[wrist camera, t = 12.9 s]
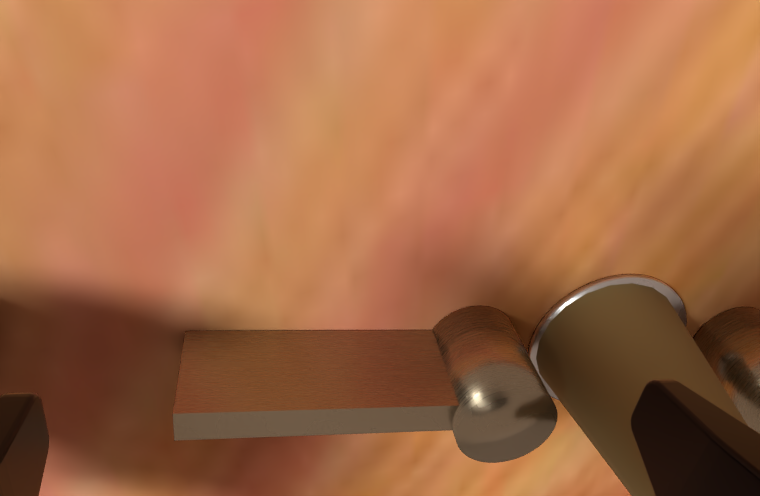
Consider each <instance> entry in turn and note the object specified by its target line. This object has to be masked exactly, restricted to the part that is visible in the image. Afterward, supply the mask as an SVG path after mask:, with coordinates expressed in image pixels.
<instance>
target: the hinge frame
mask: <svg viewBox="0 0 760 496" xmlns="http://www.w3.org/2000/svg"><path fill="white" fill-rule="evenodd" d="M629 283H634V284H639V285H644V286H648V287H652V288H654V289H655V290H657V291H658V292H660V293H661V294H663V295H664V296H666V297H667V298H668V300H669V302H670V303H671V305H672V306H673V308H674V310H675V311H676V313H677V314H678V316H679V317H680V319H681V321H682V322H683V324H684V325H685V327H686V322H687V319H686V311H685V307H684V304H683V302H682V300H681V299H680V297H679V296H678V295H677V294H676V292H675V291H674V290H673V289H672V288H671V287H669V286H668V285H667V284H666V283H664V282H662V281H661V280H659V279H656V278H653V277H650V276H646V275H639V274H621V275H615V276H610V277H606V278H602V279H599V280H596V281H593V282H591V283H588V284H586V285H584V286H582V287H580V288H578V289H577V290H575V291H573V292H572V293H570V294H568V295H567V296H566V297H564V298H563V299H562V300H560V301H559V302H558V303H557V304H556V305H555V306H554V307H552V308H551V309H550V311H549V312H548V313H547V314H546V315H545V316H544V317H543V319H542V320H541V322H540V323H539V324H538V326H537V328H536V330H535V332H534V334H533V336H532V338H531V341H530V345H529V349H528V353H527V351H526V349H525V348H524V346H523V344H522V342H521V340H520V338H519V336H518V334H517V332H516V331H515V329H514V327H513V325H512V323H511V321H510V320H509V318H508V317H507V316H506V315H505V314H504V313H503V312H501V311H499V310H497V309H495V308H492V307H487V306H471V307H466V308H462V309H460V310H457V311H455V312H453V313H451V314H449V315H447V316H446V317H445V318H443V319H442V320H441V321H440V322H439V323H438V324H437V325H436V326H435V327H434V328H433V330H322V331H185V336H184V343H183V349H182V356H181V363H180V369H179V376H178V382H177V389H176V396H175V402H174V409H173V427H174V441H175V440H202V439H229V438H255V437H282V436H309V435H335V434H362V433H389V432H415V431H442V430H453V433H454V436H455V439H456V442H457V444H458V447H459V448H460V450H461V451H462V452H463V453H464V454H465V455H466V456H468V457H470V458H472V459H474V460H477V461H481V462H488V463H496V462H504V461H509V460H513V459H516V458H519V457H521V456H524V455H526V454H528V453H530V452H531V451H533V450H534V449H536V448H537V447H539V446H540V445H541V444H542V443H543V442H544V441H545V440H546V439H547V438H548V437H549V436H550V434H551V433H552V431H553V430H554V427H555V425H556V422H557V409H556V406H555V404H554V402H553V400H552V399H551V397H553V398H555V399H558V397H557V396H556V395H555V393H554V392H553V391H552V389H551V388H550V387H549V386H548V384H547V383H546V382H545V380H544V379H543V378H542V376H541V375H540V374H539V369H538V365H537V361H536V355H537V350H538V345H539V340H540V339H541V337H542V335H543V333H544V332H545V330H546V328H547V326H548V325H549V323H550V322H551V321H552V320H553V319H554V318H555V317H556V316H557V315H558V314H559V313H560V312H561V311H562V310H563V309H564V308H565V307H566V306H567V305H569V304H570V303H572V302H574V301H575V300H577V299H578V298H580V297H582V296H583V295H585V294H586V293H589V292H592V291H595V290H598V289H601V288H603V287H606V286H609V285H618V284H629ZM693 340H694V341H695V343H696V344H697V346H698V347H699V349H700V351H701V352H702V354H703V355H704V357H705V358H706V360H707V362H708V363H709V365H710V366H711V368H712V370H713V371H714V373H715V374H716V376H717V377H718V379H719V381H720V382H721V384H722V385H723V387H724V389H725V390H726V392H727V393H728V395H729V396H730V398H731V400H732V401H733V403H734V404H735V406H736V407H737V409H738V411H739V412H740V414H741V415H742V417H743V419H744V420H745V422H746V423H747V425H748V426H749V427H750V428H752V429H754V430H755V431H757V432H758V433H760V310H758V309H756V308H752V307H740V308H735V309H731V310H728V311H725V312H723V313H721V314H719V315H717V316H716V317H714V318H713V319H711V320H710V321H708V322H707V323H706V324H705V325H704V326H703V327H702V328H701V329H700V330H699V331H698V333H697V334H696V335H695V337H694V339H693ZM550 396H551V397H550ZM558 400H559V399H558Z"/></svg>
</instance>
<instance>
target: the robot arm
mask: <svg viewBox="0 0 760 496" xmlns="http://www.w3.org/2000/svg"><path fill="white" fill-rule="evenodd" d="M631 429H632V433H633V435H634V438H635V441H636V444H637V447H638V449H639V452H640V455H641V458H642V460H643V463H644V466H645V469H646V471H647V474H648V477H649V480H650V483H651V485H652V488H653V491H654V494H655V496H760V433H758V432H757V431H755V430H754V429H752V428H750V427H749V426H747V425H746V424H744V423H743V422H741V421H739V420H738V419H736V418H735V417H733V416H732V415H730V414H728V413H727V412H725V411H724V410H722V409H721V408H719V407H718V406H716V405H714V404H713V403H711V402H710V401H708V400H707V399H705V398H703V397H702V396H700V395H699V394H697V393H696V392H694V391H693V390H691V389H689V388H688V387H686V386H685V385H683V384H682V383H680V382H678V381H676V380H672V379H660V380H651V381H649V382H648V383H647V384H646V385H645V387H644V389H643V391H642V393H641V396H640V398H639V400H638V402H637V404H636V406H635V408H634V410H633V413H632V415H631ZM48 448H49V435H48V430H47V425H46V420H45V415H44V410H43V405H42V401H41V398H40V396H39V395H38V394H36V393H33V392H28V393H6V394H3V395H1V396H0V496H39V491H40V486H41V482H42V477H43V473H44V468H45V464H46V459H47V454H48Z"/></svg>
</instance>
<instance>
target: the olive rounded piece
mask: <svg viewBox="0 0 760 496" xmlns="http://www.w3.org/2000/svg"><path fill="white" fill-rule="evenodd" d="M536 361H537V365H538V369H539V374H540V375H541V376H542V378H543V379H544V380H545V382H546V383H547V384H548V386H549V387H550V388H551V389H552V391H553V392H554V393H555V395H556V396H557V397H558V399H559V400H560V401H561V403H562V404H563V405H564V407H565V408H566V409H567V411H568V412H569V413H570V415H571V416H572V417H573V419H574V420H575V421H576V423H577V424H578V425H579V427H580V428H581V429H582V430H583V432H584V433H585V434H586V436H587V437H588V438H589V440H590V441H591V442H592V444H593V445H594V446H595V448H596V449H597V450H598V452H599V453H600V454H601V456H602V457H603V458H604V460H605V461H606V462H607V464H608V465H609V466H610V467H611V469H612V470H613V471H614V473H615V474H616V475H617V477H618V478H619V479H620V481H621V482H622V483H623V485H624V486H625V487H626V489H627V490H628V491H629V493H630V494H631V495H632V496H655V494H654V491H653V488H652V485H651V483H650V480H649V477H648V474H647V471H646V469H645V466H644V463H643V460H642V458H641V455H640V452H639V449H638V447H637V444H636V441H635V438H634V435H633V433H632V429H631V415H632V413H633V410H634V408H635V406H636V404H637V402H638V400H639V398H640V396H641V393H642V391H643V389H644V387H645V385H646V384H647V383H648V382H649V381H651V380H660V379H672V380H676V381H678V382H680V383H682V384H683V385H685V386H686V387H688V388H689V389H691V390H693V391H694V392H696V393H697V394H699V395H700V396H702V397H703V398H705V399H707V400H708V401H710V402H711V403H713V404H714V405H716V406H718V407H719V408H721V409H722V410H724V411H725V412H727V413H728V414H730V415H732V416H733V417H735V418H736V419H738V420H739V421H741V422H743V423H744V424H746V425H747V423H746V422H745V420H744V419H743V417H742V415H741V414H740V412H739V411H738V409H737V407H736V406H735V404H734V403H733V401H732V400H731V398H730V396H729V395H728V393H727V392H726V390H725V389H724V387H723V385H722V384H721V382H720V381H719V379H718V377H717V376H716V374H715V373H714V371H713V370H712V368H711V366H710V365H709V363H708V362H707V360H706V358H705V357H704V355H703V354H702V352H701V351H700V349H699V347H698V346H697V344H696V343H695V341H694V340H693V338H692V336H691V335H690V333H689V332H688V330H687V328H686V327H685V325H684V324H683V322H682V321H681V319H680V317H679V316H678V314H677V313H676V311H675V310H674V308H673V306H672V305H671V303H670V302H669V300H668V298H667V297H666V296H664V295H663V294H661V293H660V292H658V291H657V290H655V289H654V288H652V287H648V286H644V285H639V284H634V283H629V284H618V285H609V286H606V287H603V288H601V289H598V290H595V291H592V292H589V293H586V294H585V295H583V296H582V297H580V298H578V299H577V300H575V301H574V302H572V303H570V304H569V305H567V306H566V307H565V308H564V309H563V310H562V311H561V312H560V313H559V314H558V315H557V316H556V317H555V318H554V319H553V320H552V321H551V322H550V323H549V325H548V326H547V328H546V330H545V332H544V333H543V335H542V337H541V339H540V340H539V345H538V350H537V355H536ZM747 426H748V425H747Z"/></svg>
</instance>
